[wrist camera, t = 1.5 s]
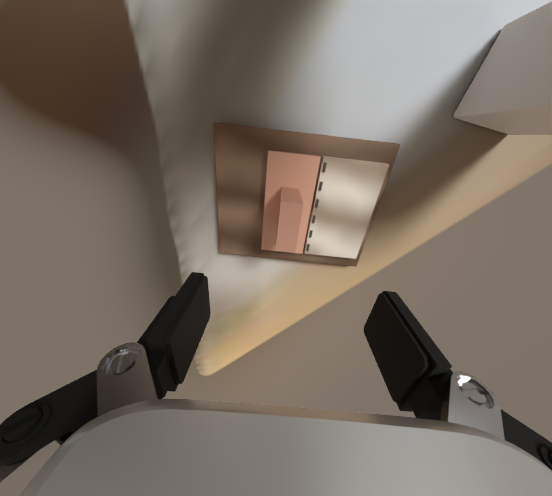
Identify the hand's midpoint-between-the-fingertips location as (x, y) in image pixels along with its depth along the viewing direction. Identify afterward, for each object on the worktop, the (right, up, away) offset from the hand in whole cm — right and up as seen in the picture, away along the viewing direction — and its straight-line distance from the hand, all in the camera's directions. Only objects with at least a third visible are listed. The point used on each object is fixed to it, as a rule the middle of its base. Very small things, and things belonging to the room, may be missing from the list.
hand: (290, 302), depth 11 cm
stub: (+1, +8, +14) cm, 16 cm away
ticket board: (+2, +9, +15) cm, 18 cm away
